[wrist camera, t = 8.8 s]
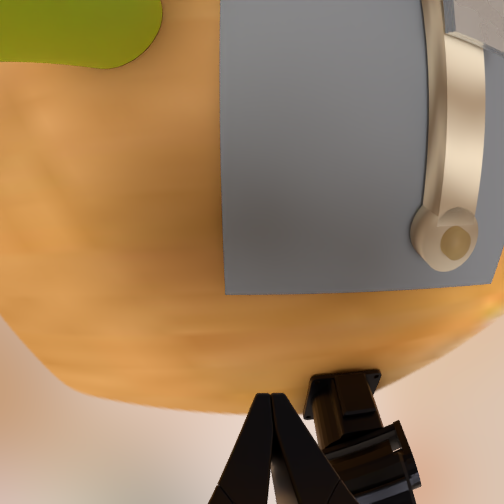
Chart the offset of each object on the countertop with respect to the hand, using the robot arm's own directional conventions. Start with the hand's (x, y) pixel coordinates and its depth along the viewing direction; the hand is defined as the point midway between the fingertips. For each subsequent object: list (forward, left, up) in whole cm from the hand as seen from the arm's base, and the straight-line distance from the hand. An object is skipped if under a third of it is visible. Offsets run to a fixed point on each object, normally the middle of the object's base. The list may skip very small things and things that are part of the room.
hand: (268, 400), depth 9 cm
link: (+7, -12, -11) cm, 18 cm away
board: (+8, -9, -12) cm, 17 cm away
